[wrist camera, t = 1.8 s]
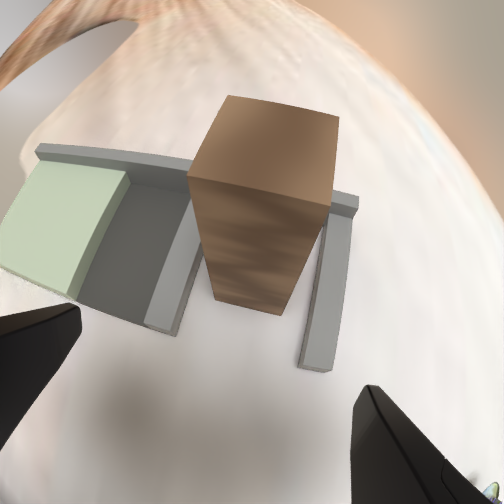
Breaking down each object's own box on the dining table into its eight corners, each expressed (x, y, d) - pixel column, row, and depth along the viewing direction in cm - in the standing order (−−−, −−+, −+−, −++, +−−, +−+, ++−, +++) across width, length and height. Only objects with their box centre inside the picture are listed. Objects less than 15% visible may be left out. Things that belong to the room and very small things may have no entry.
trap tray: (-4, 265, 23) (-24, 249, 20) (52, 163, 29) (40, 143, 26) (324, 372, 21) (338, 368, 18) (346, 219, 26) (358, 196, 23)
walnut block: (215, 299, 23) (186, 175, 10) (232, 242, 25) (227, 95, 13) (281, 315, 23) (330, 206, 10) (293, 256, 25) (339, 117, 12)
